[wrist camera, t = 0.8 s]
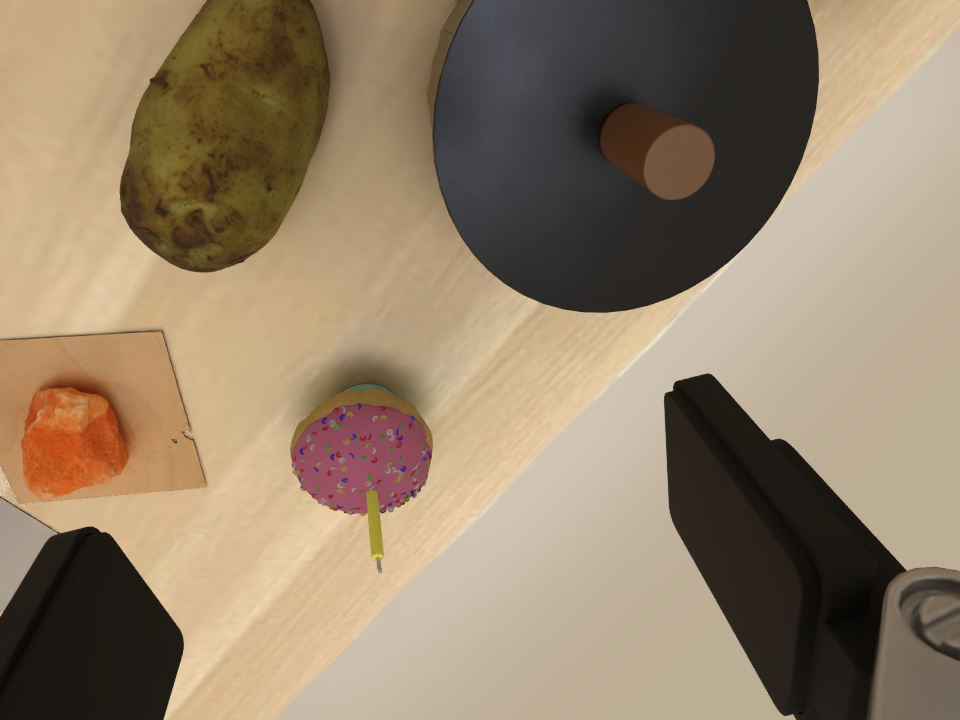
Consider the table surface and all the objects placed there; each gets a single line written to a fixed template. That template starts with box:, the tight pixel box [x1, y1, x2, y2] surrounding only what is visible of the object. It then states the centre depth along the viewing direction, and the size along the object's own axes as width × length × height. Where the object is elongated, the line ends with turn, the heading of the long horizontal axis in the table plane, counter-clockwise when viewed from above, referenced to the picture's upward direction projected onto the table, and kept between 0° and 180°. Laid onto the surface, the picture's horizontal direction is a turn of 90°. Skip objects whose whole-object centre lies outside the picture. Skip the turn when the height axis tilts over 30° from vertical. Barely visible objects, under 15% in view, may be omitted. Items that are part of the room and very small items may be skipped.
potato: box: [120, 0, 330, 272], centre depth 28 cm, size 8×13×8 cm, turn 132°
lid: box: [432, 0, 819, 313], centre depth 24 cm, size 16×16×6 cm
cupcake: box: [290, 384, 433, 573], centre depth 37 cm, size 9×8×12 cm
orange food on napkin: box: [0, 331, 207, 504], centre depth 37 cm, size 12×12×4 cm
